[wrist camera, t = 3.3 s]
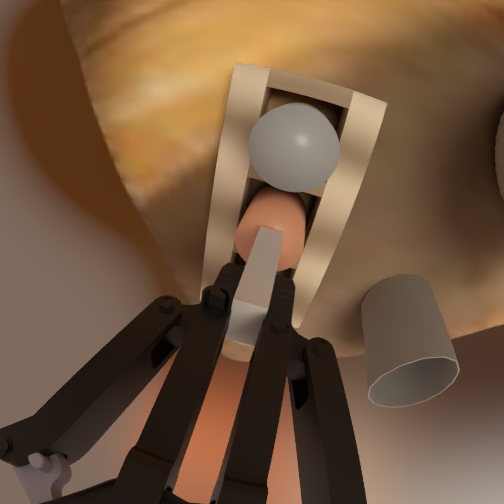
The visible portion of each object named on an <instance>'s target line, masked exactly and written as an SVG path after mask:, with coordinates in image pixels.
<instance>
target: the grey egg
mask: <svg viewBox="0 0 504 504" xmlns="http://www.w3.org/2000/svg"><path fill="white" fill-rule="evenodd" d="M248 150H249V156H250V160H251V162H252V165H253V167H254V169H255V170H256V172H257V173H258V174H259V176H260V177H261V178H262V179H263V180H265V181H266V182H267V183H268V184H270V185H272V186H273V187H275V188H278V189H280V190H284V191H288V192H304V191H308V190H312V189H314V188H316V187H318V186H320V185H322V184H323V183H324V182H326V181H327V180H328V179H329V178H330V176H331V175H332V174H333V172H334V171H335V169H336V167H337V164H338V161H339V156H340V145H339V139H338V136H337V134H336V132H335V130H334V128H333V126H332V125H331V123H330V122H329V121H328V119H327V118H326V116H325V115H324V114H323V113H322V112H321V111H320V110H319V109H317V108H316V107H314V106H312V105H309V104H306V103H301V102H292V103H288V104H284V105H282V106H279V107H277V108H274V109H272V110H270V111H268V112H267V113H266V114H264V115H263V116H262V117H261V118H260V119H259V120H258V121H257V122H256V124H255V125H254V127H253V129H252V131H251V134H250V138H249V144H248Z"/></svg>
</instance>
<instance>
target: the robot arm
mask: <svg viewBox="0 0 504 504" xmlns="http://www.w3.org/2000/svg"><path fill="white" fill-rule="evenodd" d="M283 237H284V232H281V231H277V230H274V229H270V228H267V227H263V226H260V229H259V231H258V234H257V237H256V239H255V242H254V245H253V247H252V250H251V253H250V255H249V258H248V261H247V263H246V266H245V267H244V266H240V265H237V264H233V263H230V262H228V263H227V264H225V265H224V266H222V268H221V270H220V272H219V274H218V276H217V278H216V280H215V282H214V284H213V285H209V286H207V287H205V288H204V289H203V291H202V298H201V303H200V304H196V305H182V304H181V302H180V300H178V299H177V298H175V297H173V296H161V297H159V298H157V299H155V300H154V301H153V302H152V303H151V304H150V305H149V306H148V307H147V308H145V309H144V310H143V311H142V312H141V313H140V314H139V315H138V316H137V317H136V318H134V319H133V320H132V321H131V322H130V323H129V324H128V325H127V326H126V327H125V328H124V329H123V330H121V331H120V332H119V333H118V334H117V335H116V336H115V337H114V338H113V339H112V340H111V341H110V342H109V343H107V344H106V345H105V346H104V347H103V348H102V349H101V350H100V351H99V352H98V353H97V354H96V355H95V356H94V357H93V358H91V359H90V360H89V361H88V362H87V363H86V364H85V365H84V366H83V367H82V368H81V369H80V370H79V371H78V372H77V373H76V374H75V375H74V376H73V377H72V378H71V379H70V380H69V381H68V382H67V383H66V384H65V385H64V386H62V387H61V388H60V389H59V391H57V392H56V394H54V395H53V397H51V398H50V399H49V400H48V401H47V402H46V403H45V404H44V406H42V407H41V408H40V409H39V410H38V411H37V413H35V414H34V415H33V416H31V417H28V418H26V419H24V420H21V421H19V422H16V423H14V424H11V425H9V426H6V427H3V428H1V429H0V459H1V460H3V461H5V462H7V463H9V464H11V465H12V466H13V468H14V470H15V473H16V475H17V477H18V479H19V481H20V483H21V485H22V487H23V489H24V490H25V493H26V495H27V496H28V498H29V500H30V502H31V504H199V503H189V502H187V501H185V500H183V499H181V498H179V497H178V496H176V495H174V494H173V490H174V487H175V484H176V481H177V478H178V474H179V470H180V467H181V464H182V461H183V459H184V455H185V453H186V450H187V447H188V444H189V442H190V439H191V436H192V433H193V430H194V427H195V424H196V421H197V419H198V415H199V413H200V410H201V407H202V404H203V401H204V399H205V396H206V393H207V390H208V387H209V384H210V381H211V379H212V375H213V373H214V370H215V367H216V364H217V361H218V358H219V355H220V353H221V350H222V347H223V342H224V339H225V338H228V339H232V340H235V341H239V342H242V343H246V344H249V345H253V346H255V348H254V351H253V354H252V356H251V359H250V362H249V363H250V365H249V368H248V373H247V376H246V380H245V384H244V387H243V391H242V395H241V398H240V402H239V406H238V409H237V413H236V417H235V420H234V424H233V428H232V431H231V435H230V438H229V442H228V445H227V449H226V452H225V456H224V459H223V462H222V466H221V469H220V473H219V476H218V479H217V482H216V485H215V487H214V490H213V493H212V496H211V499H210V503H209V504H266V501H267V495H268V487H267V478H268V473H269V469H270V463H271V459H272V454H273V449H274V444H275V439H276V433H277V428H278V423H279V417H280V412H281V406H282V400H283V394H284V388H285V382H286V376H287V377H288V384H289V392H290V400H291V407H292V416H293V425H294V433H295V442H296V451H297V459H298V469H299V478H300V488H301V498H302V504H367V501H366V494H365V488H364V482H363V476H362V471H361V465H360V460H359V455H358V450H357V445H356V440H355V435H354V431H353V426H352V421H351V417H350V412H349V408H348V403H347V399H346V395H345V391H344V387H343V383H342V379H341V375H340V371H339V367H338V363H337V359H336V355H335V351H334V348H333V346H332V345H331V344H330V343H329V342H328V341H327V340H325V339H323V338H319V337H316V338H312V339H310V340H308V339H306V338H304V337H302V336H301V335H299V334H298V333H297V332H296V331H295V330H294V328H293V326H292V314H293V306H294V297H295V289H296V286H295V284H294V281H293V279H289V278H285V277H282V276H278V275H276V271H277V266H278V262H279V257H280V252H281V247H282V242H283ZM179 348H180V349H179ZM178 349H179V351H178V353H177V355H176V358H175V360H174V362H173V365H172V366H171V369H170V371H169V373H168V375H167V377H166V379H165V381H164V384H163V386H162V388H161V390H160V392H159V395H158V397H157V399H156V402H155V404H154V406H153V408H152V410H151V413H150V415H149V417H148V419H147V422H146V424H145V426H144V428H143V431H142V433H141V435H140V438H139V440H138V442H137V443H136V445H135V446H134V447H132V448H131V450H130V451H129V453H128V454H127V456H126V458H125V461H124V463H123V466H122V468H121V470H120V473H119V475H118V477H117V478H115V479H111V480H108V481H105V482H103V483H100V484H97V485H95V486H92V487H90V488H87V489H84V490H81V491H79V492H76V493H73V494H70V495H67V496H64V497H62V488H63V487H64V485H65V484H66V483H68V482H69V481H70V479H71V474H72V473H71V468H70V466H69V465H71V464H73V463H75V462H76V461H77V460H79V459H80V458H82V456H84V455H85V454H86V453H87V452H88V451H89V450H90V449H91V448H92V447H93V445H94V444H95V443H96V442H97V441H98V440H99V439H100V437H101V436H102V435H103V434H104V433H105V432H106V431H107V430H108V429H109V427H110V426H111V425H112V424H113V423H114V422H115V421H116V420H117V418H118V417H119V416H120V415H121V414H122V413H123V412H124V411H125V409H126V408H127V407H128V406H129V405H130V404H131V403H132V401H133V400H134V399H135V398H136V397H137V395H138V394H139V393H140V392H141V391H142V390H143V389H144V388H145V387H146V385H147V384H148V383H149V382H150V381H151V380H152V379H153V377H154V376H155V375H156V374H157V373H158V372H159V371H160V369H161V368H162V367H163V366H164V365H165V364H166V363H167V361H168V360H169V359H170V358H171V357H172V355H174V353H175V352H176V351H177V350H178Z"/></svg>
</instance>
